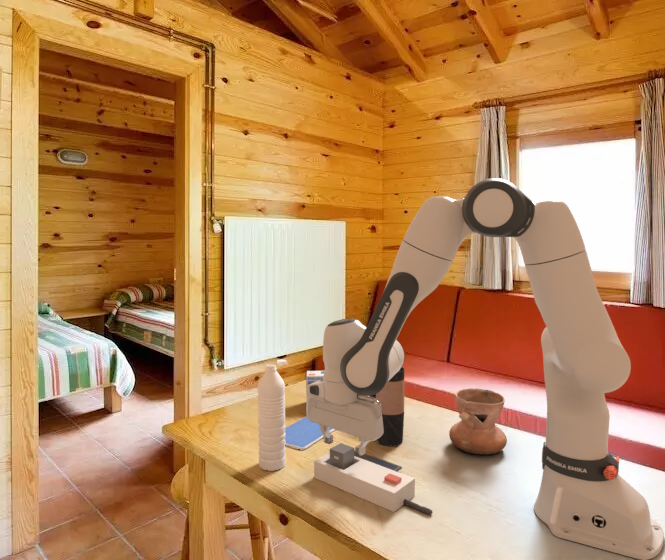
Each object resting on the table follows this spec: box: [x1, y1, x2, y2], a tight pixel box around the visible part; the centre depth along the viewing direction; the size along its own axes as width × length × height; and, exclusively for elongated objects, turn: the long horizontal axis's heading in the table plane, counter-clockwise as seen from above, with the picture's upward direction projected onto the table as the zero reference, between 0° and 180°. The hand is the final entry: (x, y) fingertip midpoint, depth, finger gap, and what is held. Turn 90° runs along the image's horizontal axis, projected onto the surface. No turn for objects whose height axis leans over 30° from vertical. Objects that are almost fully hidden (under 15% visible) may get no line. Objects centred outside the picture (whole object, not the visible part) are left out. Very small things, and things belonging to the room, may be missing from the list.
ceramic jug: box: [448, 387, 508, 455], centre depth 133 cm, size 18×14×14 cm
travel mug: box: [376, 366, 405, 447], centre depth 136 cm, size 8×8×20 cm
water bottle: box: [257, 359, 288, 472], centre depth 123 cm, size 9×6×25 cm
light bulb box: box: [305, 370, 325, 397], centre depth 164 cm, size 11×7×11 cm, turn 93°
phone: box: [354, 449, 403, 472], centre depth 124 cm, size 14×7×1 cm, turn 49°
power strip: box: [313, 452, 433, 516], centre depth 111 cm, size 28×8×5 cm, turn 50°
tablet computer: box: [285, 416, 336, 451], centre depth 143 cm, size 19×13×1 cm, turn 148°
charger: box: [329, 442, 355, 470], centre depth 117 cm, size 4×4×6 cm
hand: (344, 448), depth 116 cm, fingers open, 8 cm apart
